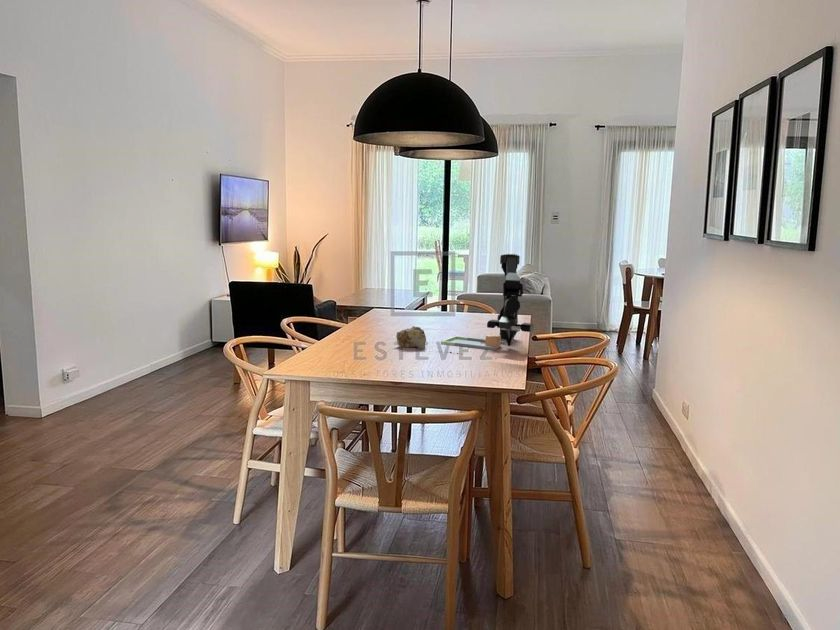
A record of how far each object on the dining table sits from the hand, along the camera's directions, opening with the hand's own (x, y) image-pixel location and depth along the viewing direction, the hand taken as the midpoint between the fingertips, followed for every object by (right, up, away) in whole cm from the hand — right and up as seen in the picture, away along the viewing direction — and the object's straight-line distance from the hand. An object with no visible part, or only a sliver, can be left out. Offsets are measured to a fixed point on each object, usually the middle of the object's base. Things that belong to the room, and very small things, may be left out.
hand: (509, 345), depth 263 cm
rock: (-41, -1, +6) cm, 41 cm away
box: (-15, -1, +7) cm, 16 cm away
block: (-6, 0, +3) cm, 7 cm away
